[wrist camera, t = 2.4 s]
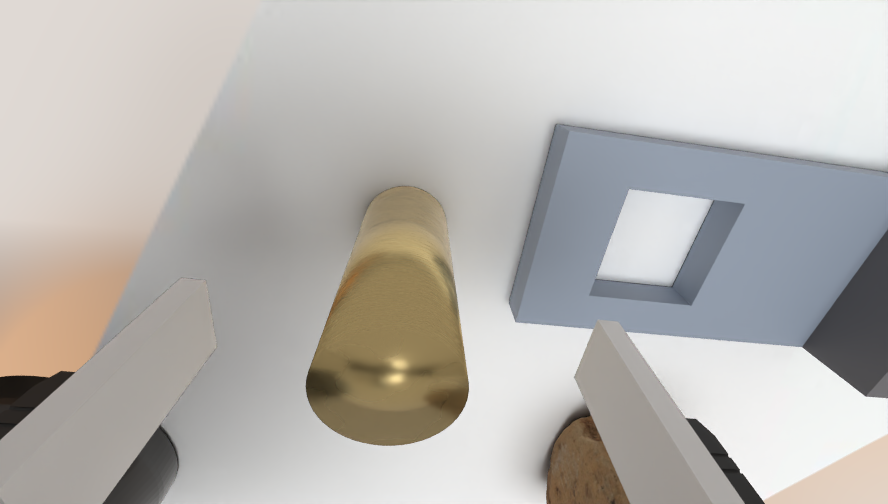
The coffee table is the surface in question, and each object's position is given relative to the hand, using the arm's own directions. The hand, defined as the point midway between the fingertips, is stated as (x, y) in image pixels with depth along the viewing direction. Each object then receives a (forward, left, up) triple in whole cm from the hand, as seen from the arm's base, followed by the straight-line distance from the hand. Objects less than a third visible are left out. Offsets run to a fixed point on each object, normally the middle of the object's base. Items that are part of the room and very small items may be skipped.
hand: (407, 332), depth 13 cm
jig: (+18, +1, -9) cm, 20 cm away
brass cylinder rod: (0, 0, -9) cm, 9 cm away
